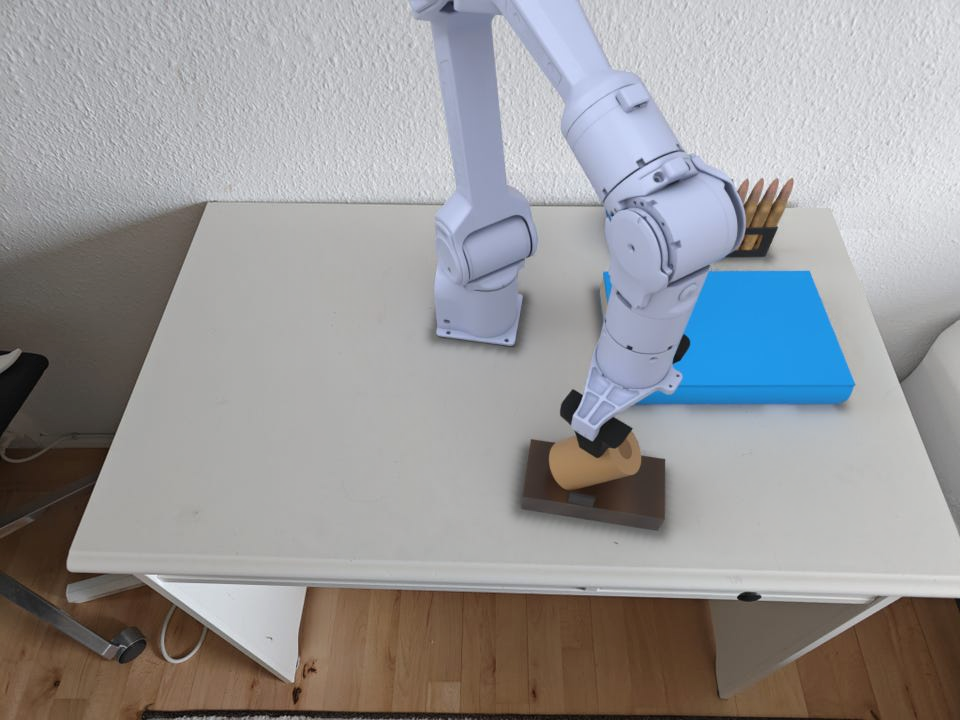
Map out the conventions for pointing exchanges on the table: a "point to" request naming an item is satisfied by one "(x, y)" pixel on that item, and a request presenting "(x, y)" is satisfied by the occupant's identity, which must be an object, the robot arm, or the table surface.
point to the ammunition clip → (761, 217)
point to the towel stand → (597, 493)
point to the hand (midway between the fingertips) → (613, 417)
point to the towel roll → (592, 463)
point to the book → (757, 343)
